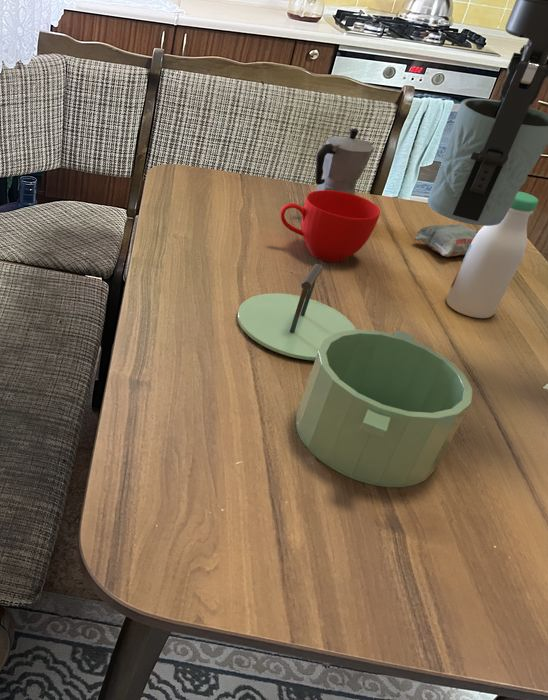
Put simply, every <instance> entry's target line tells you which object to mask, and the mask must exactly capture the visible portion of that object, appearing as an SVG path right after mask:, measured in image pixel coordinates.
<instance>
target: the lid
mask: <svg viewBox="0 0 548 700" xmlns="http://www.w3.org/2000/svg"><path fill="white" fill-rule="evenodd" d="M322 271H323V266H322V265H321V264H320V263H315V264H313V266H312V268H311V269H310V271H309V272H308V273H307V275H306V277H305V278H304V280H303V281H302V283H301V285H300V286H301V289H302V290H301V293H300V295H296V294H290V293H279V292H277V293H276V292H275V293H274V292H273V293H272V292H271V293H262V294H257V295H254V296H251V297H249V298H247V299H245V300H244V301H243V302H241V304H240V306H239V308H238V311H237V321H238V324H239V327H240V328H241V329H242V330H243V332H244V333H245V334H246V335H247V336H248V337H249V338H251V339H252V340H253V341H254V342H256V343H257V344H259V345H261V346H262V347H264V348H266V349H269V350H270V351H273V352H275V353H278V354H281V355H284V356H287V357H291V358H295V359H299V360H300V359H301V360H303V361H304V360H306V361H314V362H315V359H316V356H317V353H318V351H319V349H320V347H321V345H322V343H323V341H324V340H325V339H327V338H328V337H330V336H332V335H334V334H336V333H338V332H344V331H350V330H357V328H356V327H355V325H354V324H353V322H352V321H351V320H349V318H347V317H346V316H345V315H344V314H343V313H342V312H340V311H338V310H337V309H335V308H333V307H332V306H329V305H327V304H325V303H323V302H320V301H318V300H315V299H311V297H312V294H313V292H314V288H315V285H316V282H317V279H318V277H319V276H320V274H321V272H322Z"/></svg>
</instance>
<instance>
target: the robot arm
mask: <svg viewBox="0 0 548 700" xmlns="http://www.w3.org/2000/svg"><path fill="white" fill-rule="evenodd" d="M505 31H506V33H507V34H509V35H511V36H513V37H517V38H523V39H528V40H527V42H526V44H524V45H522V47H520V50H519V53H518V52H513V54H512V55H511V58H510V61H509V63H508V65H507V69H506V76H505V79H504V80H503V84H502V85H501V90H500V93H499V99H500V100H499V101H501V102H500V104H499V106H498V109H497V111H496V113H495V116H494V117H496V118H495V119H496V120H495V122H494V123H493V125H492V128H491V130H490V132H489V135H488V137H487V139H486V141H485V144H484V146H483V149H482V151H480V153H475V152H473V153H472V156H471V158H470V159H472V160H476V161H475V163H474V166H473V168H472V170H471V173H470V175H469V177H468V180H467V182H466V184H465V187H464V189H463V191H462V194H461V196H460V198H459V201H458V203H457V205H456V208H455V210H454V212H453V215H455V216H459V217H463V218H466V219H470V220H474V221H478V220H479V218H480V215H481V213H482V211H483V209H484V207H485V204H486V202H487V200H488V198H489V196H490V193H491V191H492V189H493V187H494V185H495V182H496V180H497V178H498V176H499V174H500V171H501V169H502V167H503V165H504V164H505V162H507V160H508V154H509V152H510V150H511V147H512V145H513V143H514V140H515V138H516V136H517V134H518V131H519V129H520V127H521V124H522V122H523V120H524V118H525V115H526V113H527V111H528V108H530V106H531V105H533V104H534V103H535V101H536V100H537V98H538V96H539V93H540V91H541V89H542V86H543V84H544V82H545V81H546V80H547V79H548V0H515V1H514V4H513V7H512V9H511V12H510V14H509V17H508V19H507V22H506V24H505ZM489 148H495V149H500V150H502V152H501V151H496V150H492V149H489Z"/></svg>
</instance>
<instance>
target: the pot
mask: <svg viewBox="0 0 548 700" xmlns="http://www.w3.org/2000/svg"><path fill="white" fill-rule="evenodd" d="M415 337H416V336H415V335H414V334H411V333H408V332H404V331H401V330H398V329H394V332H393V333H389V332H385V331H381V330H371V329H357V328H356V330H350V331H344V332H338V333H336V334H334V335H332V336H330V337H328V338H327V339H325V340H324V341H323V343H322V345H321V347H320V349H319V351H318V353H317V356H316V359H315V361H314V363H313V365H312V368H311V371H310V374H309V377H308V379H307V383H306V386H305V388H304V391H303V394H302V397H301V399H300V403H299V405H298V408H297V410H296V416H295V426H296V427H295V428H296V431H297V434H298V436H299V438H300V440H301V441H302V443H303V444H304V446H305V447H306V448H307V449H308V451H309V452H310V453H311V454H312V455H313V456H314V457H315V458H317V460H319V461H320V462H322V463H323V464H324V465H326V466H328V468H330V469H332V470H334V471H336V472H337V473H339V474H341V475H343V476H345V477H347V478H350V479H352V480H355V481H358V482H360V483H364V484H367V485H371V486H376V487H383V488H406V487H412V486H416V485H418V484H421V483H423V482H424V481H427V479H429V478H430V477H431V476H432V475H433V473H434V472H435V471H436V470H437V468H438V467H439V464H440V463H441V461H442V460H443V457H444V455H445V453H446V452H447V450H448V448H449V446H450V444H451V442H452V440H453V439H454V436H455V434H456V433H457V430H458V428H459V427H460V425H461V423H462V421H463V419H464V418H465V416H466V414H467V411H468V409H469V408H470V406H471V404H472V399H473V397H472V396H473V388H472V386H471V384H470V382H469V380H468V378H467V377H466V374H465V373H464V372H463V371H462V370H461V369H460V368H458V367H457V366H456V364H454V363H453V362H452V361H451V360H450V359H448V358H447V357H445V356H444V355H442V354H440V353H438V352H437V351H435V350H434V349H433V348H431V347H429V346H428V345H425V344H422V343H420V342H417V341H415Z"/></svg>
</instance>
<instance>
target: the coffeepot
mask: <svg viewBox="0 0 548 700" xmlns="http://www.w3.org/2000/svg"><path fill="white" fill-rule="evenodd" d="M359 132H360V130H358V129H356V128H350V129H349V136H331V137H329V138H328V139H326V140H325V144H323V145H322V147H321V148H320V149H319V150H318V151H317V153H316V157H315V158H316V159H315V180H314V181H315V182H314V183H315V184H316V185H317V187H316V189H315V191H319V190H332V191H340V192H346V193H350V194H353V195H356V188H355V187H356V185H357V182H358V181H359V180H360V179H361V176H362V174H363V173H364V171H365V168H366V166H367V164H368V162H369V160H370V158H371V156H372V155H373V153H374V150H375V147H374V146H373V145H374V143H373V142H369V141H368V140H365V139H359V138H356V137H357V136H358V134H359Z"/></svg>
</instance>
